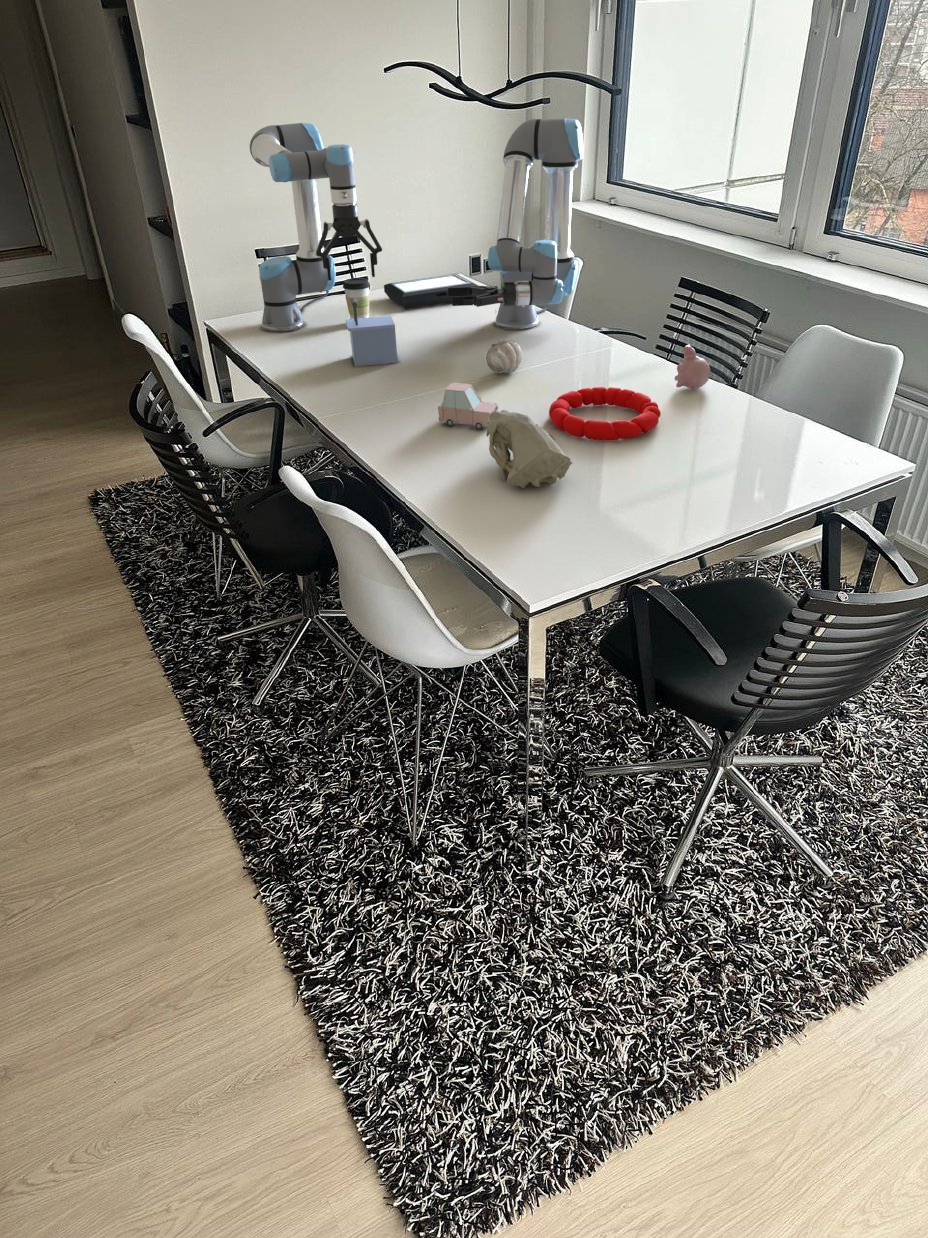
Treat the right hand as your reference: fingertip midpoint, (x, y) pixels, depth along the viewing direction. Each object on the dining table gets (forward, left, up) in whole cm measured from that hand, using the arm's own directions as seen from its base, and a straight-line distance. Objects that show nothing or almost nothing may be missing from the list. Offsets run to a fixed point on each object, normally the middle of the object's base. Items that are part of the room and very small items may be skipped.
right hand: (450, 296), depth 288 cm
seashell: (0, +29, -18) cm, 34 cm away
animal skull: (+41, +87, -18) cm, 98 cm away
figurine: (-33, +75, -18) cm, 84 cm away
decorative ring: (+4, +78, -18) cm, 80 cm away
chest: (+25, -9, -18) cm, 32 cm away
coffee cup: (+7, -48, -18) cm, 52 cm away
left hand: (+29, -12, +9) cm, 32 cm away
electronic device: (-30, -57, -18) cm, 67 cm away
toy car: (+33, +54, -18) cm, 66 cm away
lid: (+25, -10, -6) cm, 28 cm away
